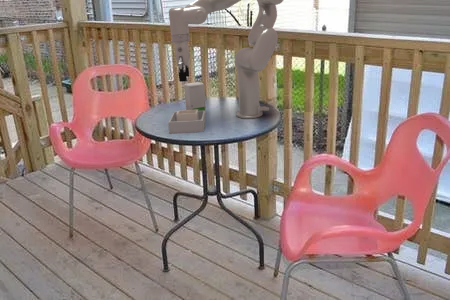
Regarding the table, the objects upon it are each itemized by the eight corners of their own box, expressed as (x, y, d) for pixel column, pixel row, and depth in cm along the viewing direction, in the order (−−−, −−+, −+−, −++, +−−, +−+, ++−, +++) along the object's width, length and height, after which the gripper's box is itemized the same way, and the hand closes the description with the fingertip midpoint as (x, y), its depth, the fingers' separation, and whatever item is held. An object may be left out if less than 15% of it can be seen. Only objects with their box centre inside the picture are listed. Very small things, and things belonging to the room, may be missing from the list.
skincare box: (191, 117, 207) (188, 86, 201) (185, 114, 212) (183, 83, 207) (206, 114, 210) (204, 83, 204) (201, 111, 216) (198, 81, 210)
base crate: (206, 120, 201) (205, 110, 199) (203, 131, 186) (202, 120, 184) (174, 122, 201) (173, 112, 199) (169, 133, 186) (168, 122, 184)
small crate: (198, 122, 196) (197, 109, 194) (197, 126, 190) (196, 113, 188) (179, 123, 196) (178, 110, 194) (177, 127, 191) (176, 114, 188)
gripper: (187, 40, 171) (191, 82, 177) (191, 35, 187) (194, 74, 194) (168, 41, 172) (173, 83, 178) (174, 36, 188) (178, 75, 194)
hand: (184, 78), depth 186 cm, fingers open, 9 cm apart
